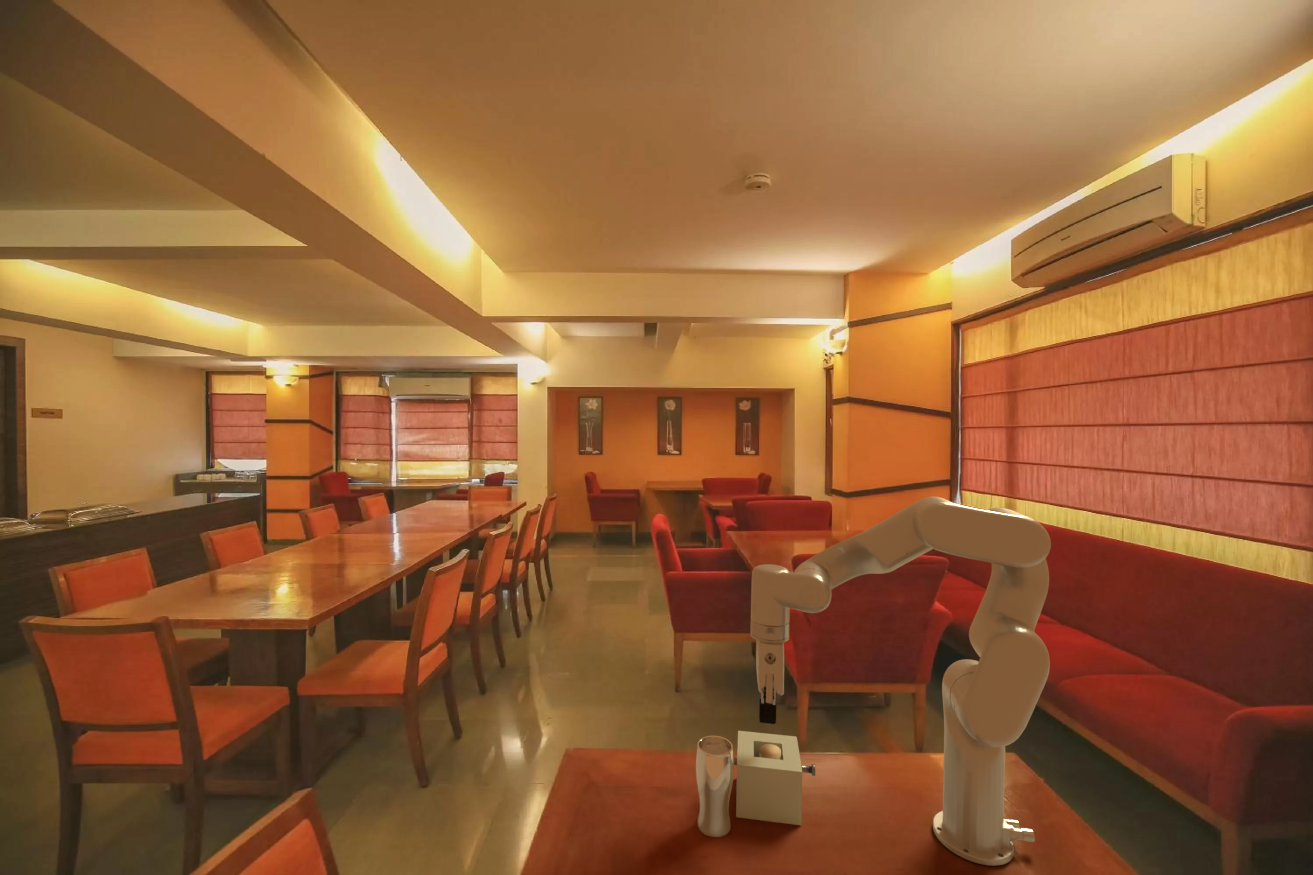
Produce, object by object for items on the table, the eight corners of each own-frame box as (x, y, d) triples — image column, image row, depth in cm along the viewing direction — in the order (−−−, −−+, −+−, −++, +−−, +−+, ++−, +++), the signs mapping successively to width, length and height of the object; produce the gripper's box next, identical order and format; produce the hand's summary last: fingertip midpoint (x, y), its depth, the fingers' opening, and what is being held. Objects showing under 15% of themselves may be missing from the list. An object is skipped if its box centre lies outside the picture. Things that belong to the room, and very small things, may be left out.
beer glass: (731, 842, 97) (732, 758, 97) (692, 835, 99) (693, 753, 99) (734, 815, 104) (735, 737, 104) (697, 809, 106) (698, 732, 105)
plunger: (781, 776, 107) (781, 763, 107) (780, 768, 109) (780, 756, 109) (815, 779, 106) (815, 767, 106) (813, 772, 108) (814, 760, 108)
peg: (780, 794, 110) (780, 744, 110) (782, 808, 106) (781, 757, 106) (759, 792, 111) (759, 743, 111) (760, 806, 107) (759, 755, 107)
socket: (795, 784, 114) (796, 736, 114) (801, 825, 102) (802, 771, 102) (737, 777, 116) (738, 730, 116) (736, 816, 104) (736, 764, 104)
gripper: (792, 645, 100) (789, 744, 101) (786, 617, 115) (784, 704, 115) (750, 641, 102) (748, 739, 102) (750, 615, 116) (748, 700, 117)
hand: (767, 720), depth 109 cm, fingers closed
